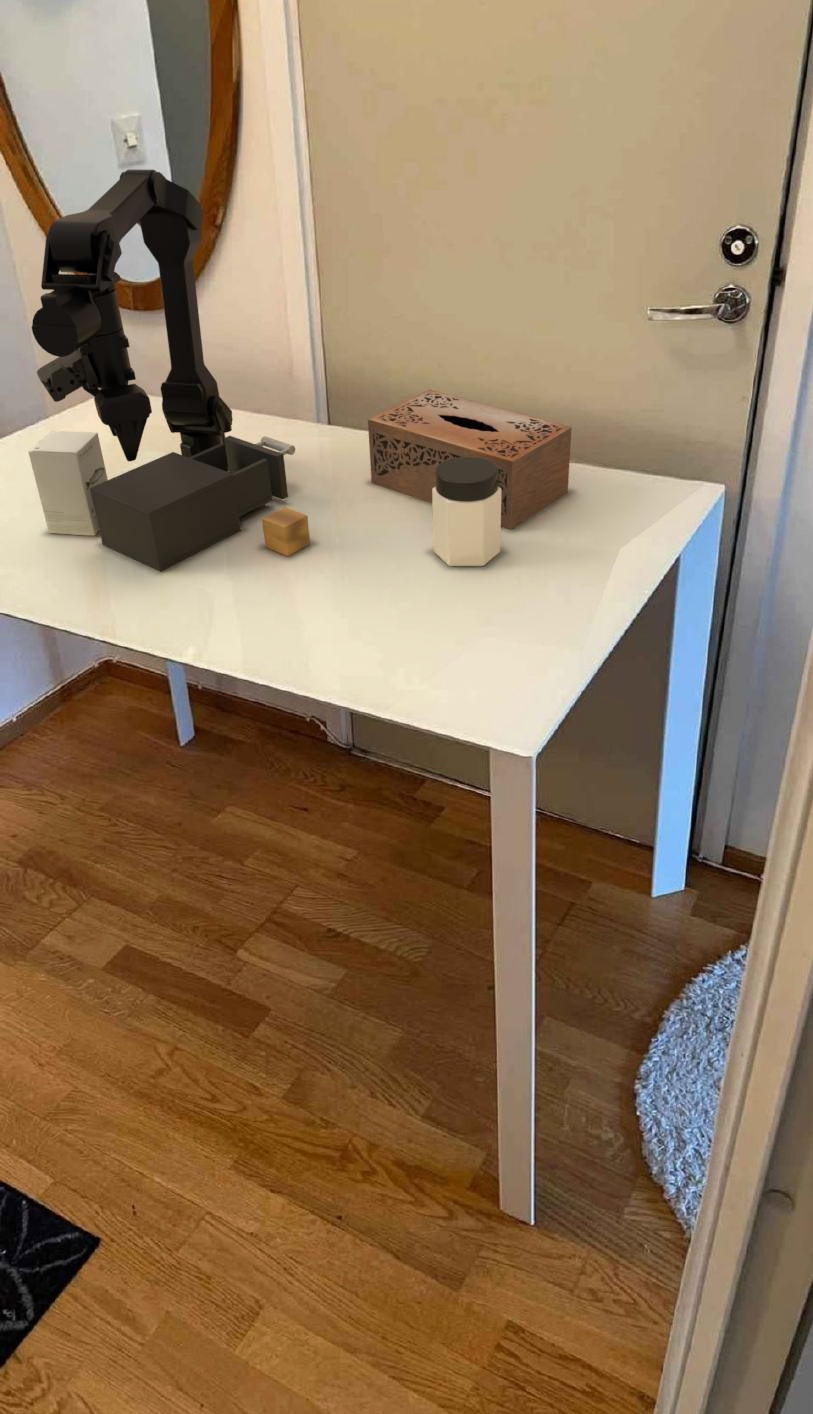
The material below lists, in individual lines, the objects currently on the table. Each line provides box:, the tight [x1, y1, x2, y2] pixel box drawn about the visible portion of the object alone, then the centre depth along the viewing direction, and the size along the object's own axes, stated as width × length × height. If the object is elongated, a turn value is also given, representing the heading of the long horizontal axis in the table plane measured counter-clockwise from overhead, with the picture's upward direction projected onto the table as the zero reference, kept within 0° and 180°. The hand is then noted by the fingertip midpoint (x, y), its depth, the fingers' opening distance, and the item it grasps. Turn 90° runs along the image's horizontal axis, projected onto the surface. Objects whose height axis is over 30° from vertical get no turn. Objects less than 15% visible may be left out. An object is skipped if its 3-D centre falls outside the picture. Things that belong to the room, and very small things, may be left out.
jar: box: [431, 457, 502, 567], centre depth 140 cm, size 9×8×12 cm
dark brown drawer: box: [189, 435, 296, 518], centre depth 155 cm, size 18×11×7 cm, turn 140°
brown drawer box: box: [90, 451, 242, 572], centre depth 148 cm, size 15×13×9 cm
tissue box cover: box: [367, 389, 573, 530], centre depth 157 cm, size 26×14×10 cm, turn 50°
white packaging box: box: [27, 430, 109, 537], centre depth 151 cm, size 7×7×13 cm
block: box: [261, 506, 311, 557], centre depth 146 cm, size 4×4×4 cm
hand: (124, 447), depth 142 cm, fingers open, 9 cm apart
